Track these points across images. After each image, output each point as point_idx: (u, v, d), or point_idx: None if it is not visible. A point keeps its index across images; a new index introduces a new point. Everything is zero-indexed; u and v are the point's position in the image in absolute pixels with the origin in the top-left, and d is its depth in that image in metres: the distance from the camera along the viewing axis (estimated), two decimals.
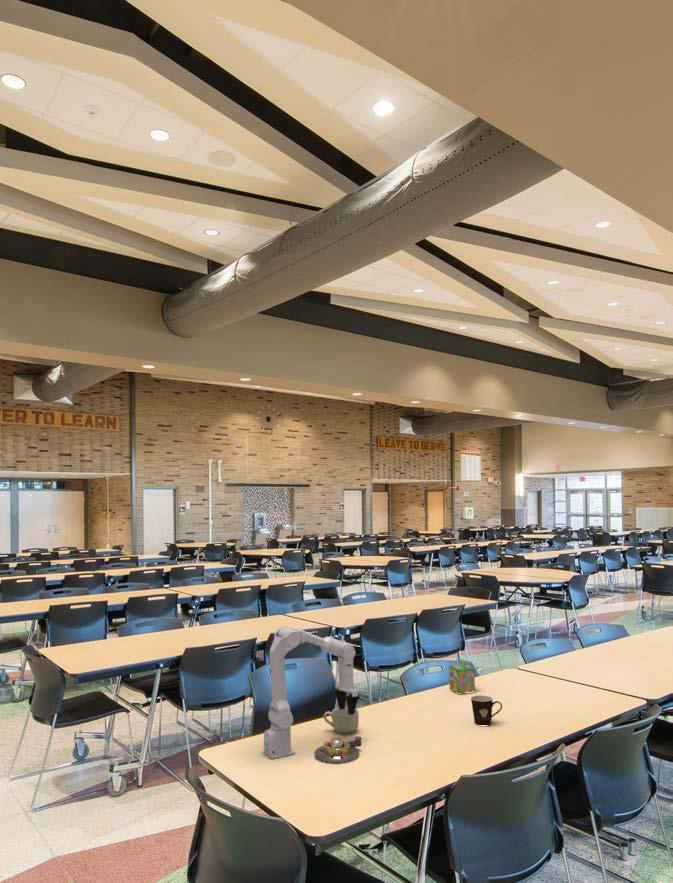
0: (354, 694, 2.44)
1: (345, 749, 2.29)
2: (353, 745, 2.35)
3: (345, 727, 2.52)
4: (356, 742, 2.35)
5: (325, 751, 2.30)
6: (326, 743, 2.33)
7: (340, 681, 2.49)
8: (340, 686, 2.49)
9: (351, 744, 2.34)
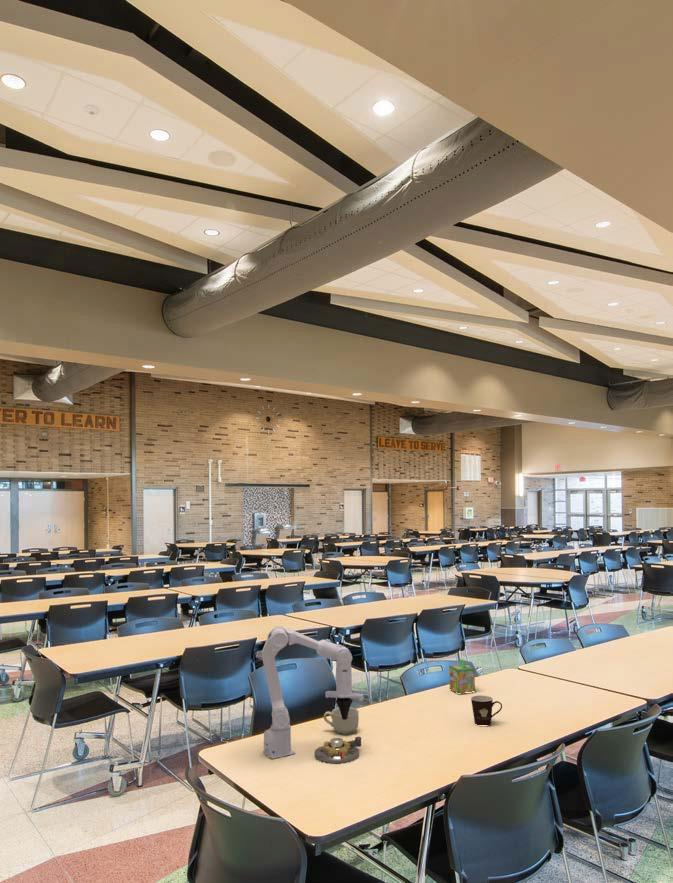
0: None
1: (345, 749, 2.29)
2: (353, 745, 2.35)
3: (345, 727, 2.52)
4: (356, 742, 2.35)
5: (325, 751, 2.30)
6: (326, 743, 2.33)
7: None
8: None
9: (351, 744, 2.34)
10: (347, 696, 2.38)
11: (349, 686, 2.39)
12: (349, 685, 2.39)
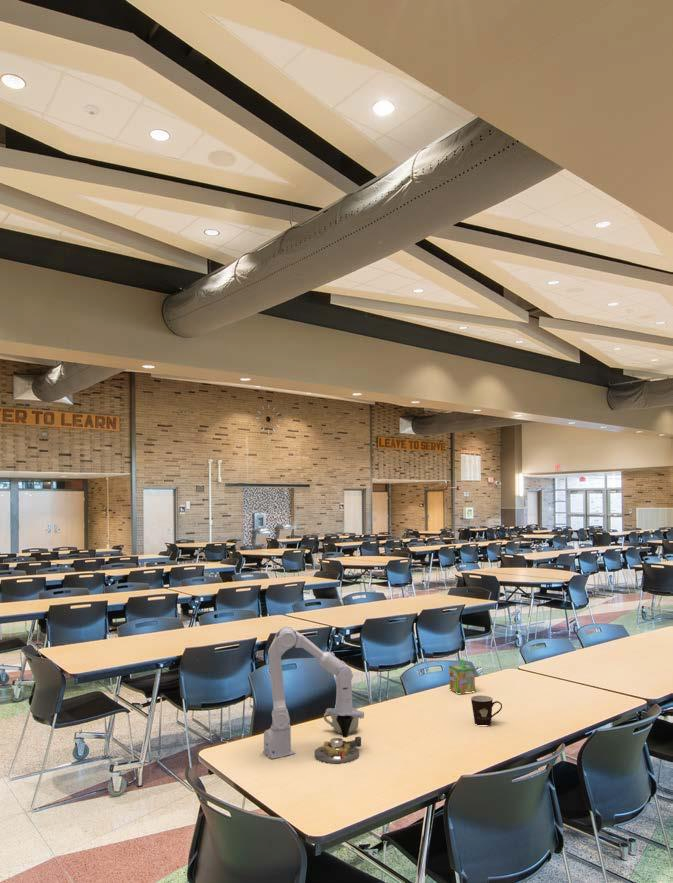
0: None
1: (345, 749, 2.29)
2: (353, 745, 2.35)
3: None
4: (356, 742, 2.35)
5: (325, 751, 2.30)
6: (326, 743, 2.33)
7: None
8: None
9: (351, 744, 2.34)
10: (348, 714, 2.37)
11: (349, 704, 2.38)
12: (349, 703, 2.38)
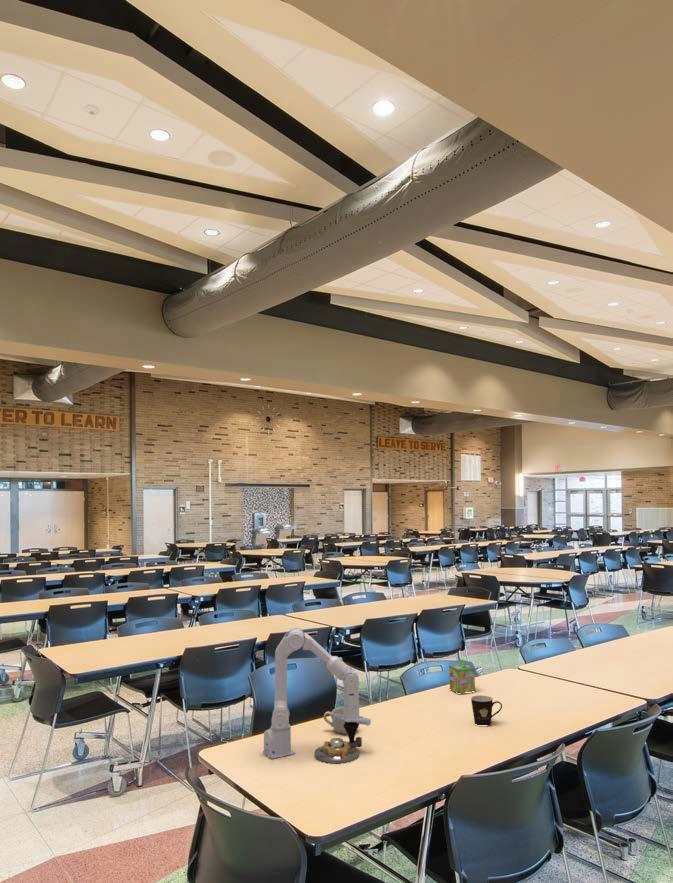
0: None
1: (345, 749, 2.29)
2: (353, 745, 2.34)
3: None
4: (356, 742, 2.35)
5: (325, 751, 2.30)
6: (326, 743, 2.33)
7: None
8: None
9: (351, 744, 2.34)
10: (354, 720, 2.35)
11: (356, 710, 2.36)
12: (356, 709, 2.36)
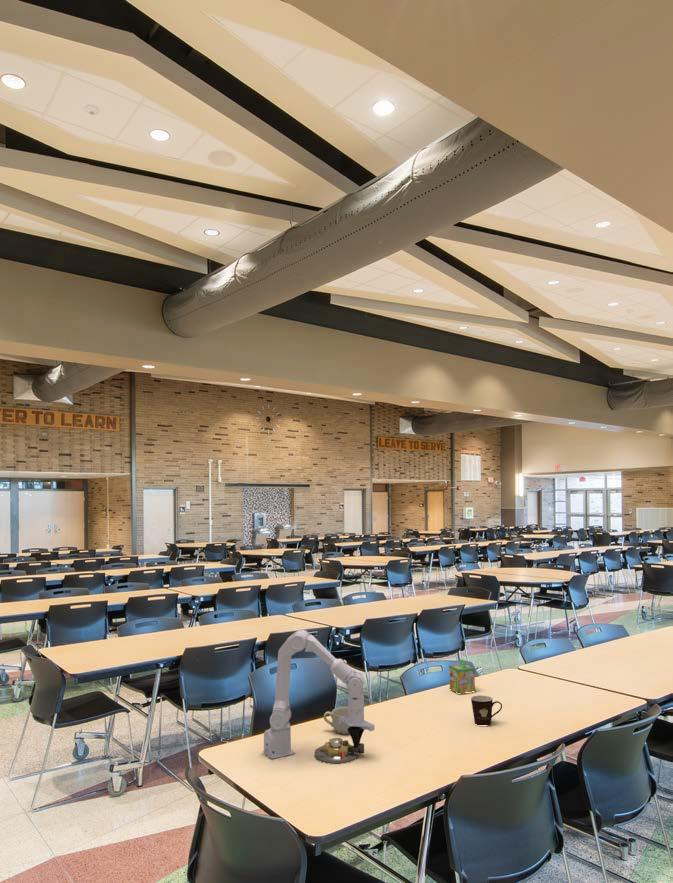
0: None
1: (335, 750, 2.27)
2: (353, 750, 2.30)
3: (345, 727, 2.52)
4: (357, 748, 2.29)
5: None
6: None
7: None
8: None
9: (351, 748, 2.30)
10: (357, 725, 2.30)
11: (360, 715, 2.31)
12: (360, 714, 2.31)
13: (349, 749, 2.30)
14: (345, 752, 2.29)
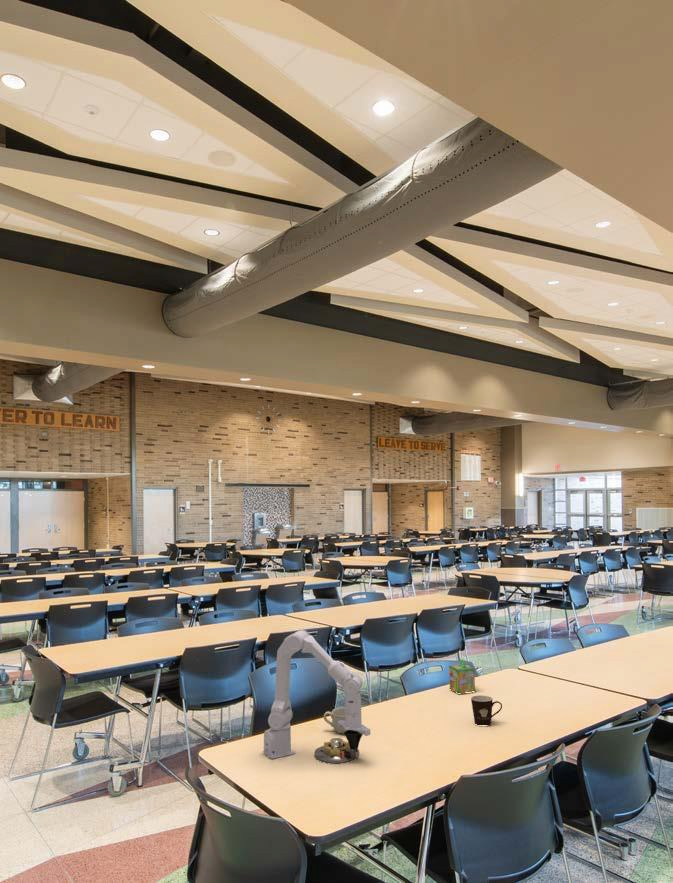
0: None
1: (328, 750, 2.29)
2: (346, 753, 2.27)
3: None
4: (348, 752, 2.26)
5: None
6: None
7: None
8: None
9: (344, 751, 2.27)
10: (353, 729, 2.26)
11: (356, 718, 2.27)
12: (356, 717, 2.27)
13: None
14: (337, 753, 2.27)
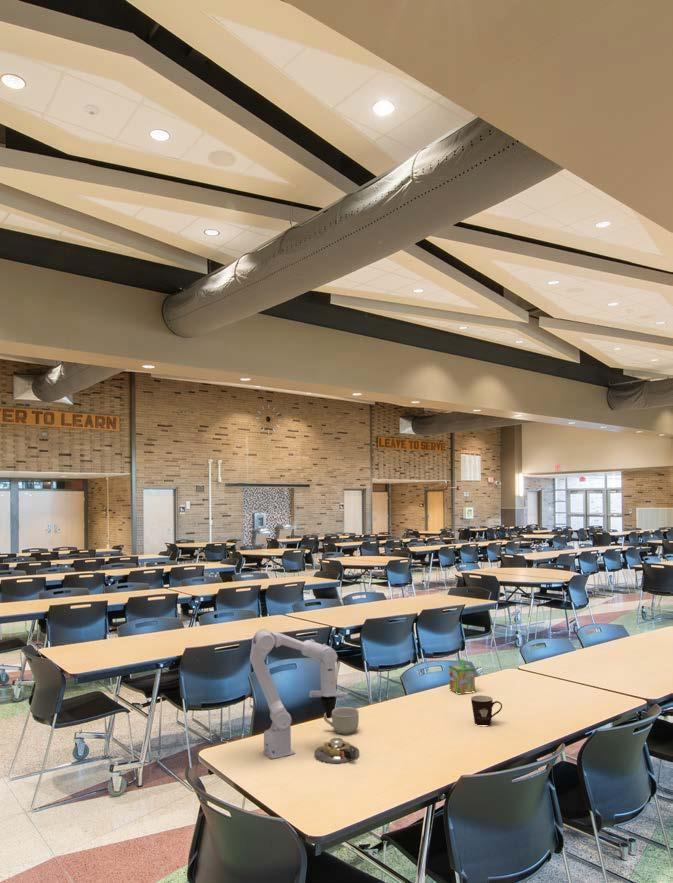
0: None
1: (328, 750, 2.29)
2: (346, 753, 2.27)
3: (345, 727, 2.52)
4: (348, 752, 2.26)
5: None
6: None
7: None
8: None
9: (344, 751, 2.27)
10: (332, 695, 2.40)
11: (334, 685, 2.41)
12: (334, 684, 2.41)
13: None
14: (337, 753, 2.27)
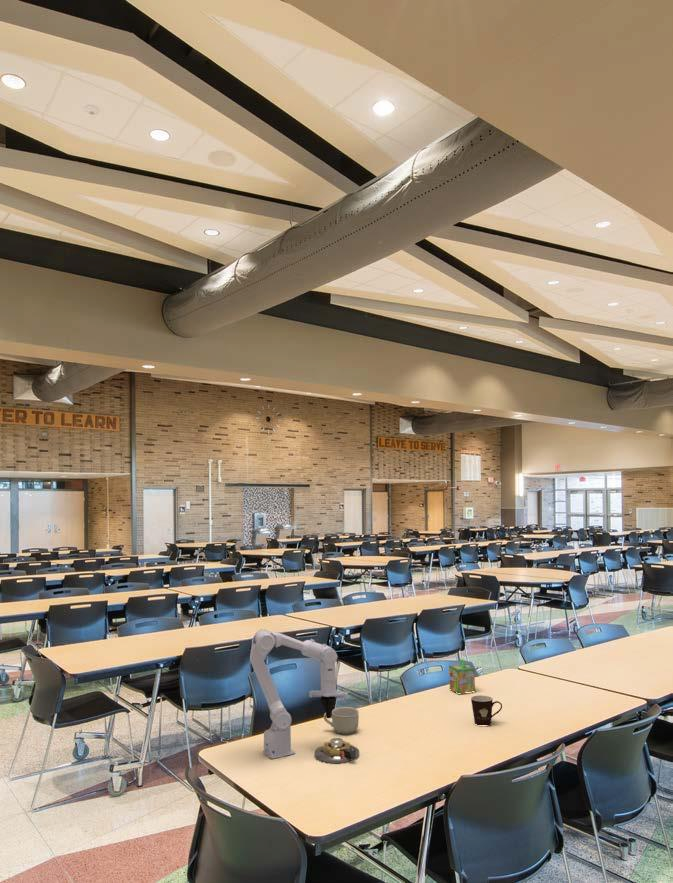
0: None
1: (328, 750, 2.29)
2: (346, 753, 2.27)
3: (345, 727, 2.52)
4: (348, 752, 2.26)
5: None
6: None
7: None
8: None
9: (344, 751, 2.27)
10: (332, 695, 2.40)
11: (334, 685, 2.41)
12: (334, 684, 2.41)
13: None
14: (337, 753, 2.27)
